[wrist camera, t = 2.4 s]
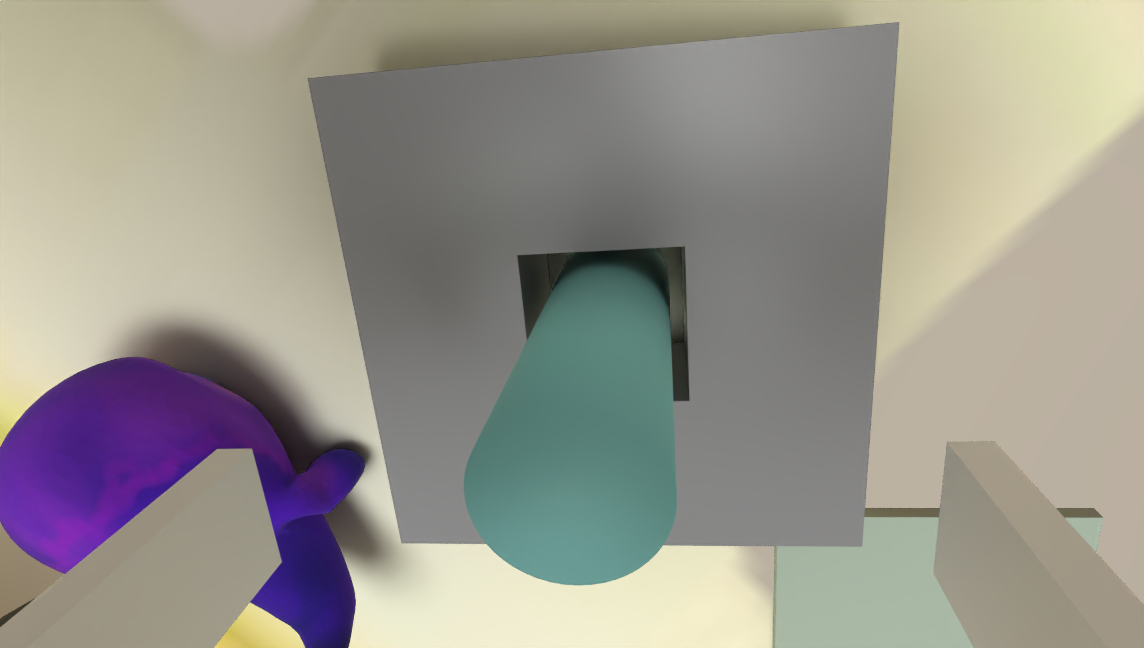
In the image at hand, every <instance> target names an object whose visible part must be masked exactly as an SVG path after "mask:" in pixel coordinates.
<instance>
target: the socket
mask: <svg viewBox="0 0 1144 648" xmlns="http://www.w3.org/2000/svg"><path fill="white" fill-rule="evenodd" d="M898 32H899V22H897V23H886V24H876V25H865V26H855V27H844V28H834V29H823V30H813V31H802V32H791V33H781V34H770V35H760V36H749V37H739V38H728V39H718V40H707V41H697V42H686V43H675V44H665V45H654V46H644V47H633V48H623V49H612V50H602V51H591V52H581V53H570V54H559V55H549V56H538V57H528V58H517V59H507V60H496V61H486V62H475V63H465V64H454V65H443V66H433V67H422V68H412V69H401V70H391V71H380V72H370V73H359V74H348V75H338V76H327V77H317V78H308V82H309V87H310V92H311V97H312V102H313V107H314V112H315V117H316V122H317V127H318V132H319V137H320V142H321V147H322V151H323V156H324V161H325V166H326V171H327V176H328V181H329V186H330V191H331V196H332V201H333V206H334V211H335V216H336V221H337V226H338V231H339V236H340V241H341V246H342V251H343V256H344V261H345V266H346V270H347V275H348V280H349V285H350V290H351V295H352V300H353V305H354V310H355V315H356V320H357V325H358V330H359V335H360V340H361V345H362V350H363V355H364V360H365V365H366V370H367V375H368V380H369V384H370V389H371V394H372V399H373V404H374V409H375V414H376V419H377V424H378V429H379V434H380V439H381V444H382V449H383V454H384V459H385V464H386V469H387V474H388V479H389V484H390V489H391V494H392V498H393V503H394V508H395V513H396V518H397V523H398V528H399V533H400V538H401V543H442V544H486V543H485V542H484V540H483V539H482V537H481V536H480V535H479V533H478V532H477V530H476V528H475V526H474V524H473V523H472V521H471V518H470V515H469V513H468V510H467V506H466V502H465V496H464V474H465V470H466V465H467V462H468V459H469V457H470V454H471V452H472V450H473V448H474V446H475V444H476V442H477V440H478V438H479V436H480V434H481V432H482V430H483V428H484V426H485V424H486V422H487V420H488V418H489V416H490V414H491V412H492V410H493V408H494V406H495V404H496V402H497V400H498V398H499V396H500V394H501V392H502V390H503V388H504V386H505V384H506V382H507V380H508V378H509V376H510V374H511V372H512V370H513V368H514V366H515V364H516V362H517V360H518V358H519V356H520V354H521V352H522V350H523V348H524V346H525V344H526V342H527V340H528V338H529V336H530V334H531V332H532V330H533V328H534V326H535V324H536V322H537V320H538V318H539V316H540V314H541V312H542V310H543V308H544V306H545V304H546V302H547V300H548V298H549V296H550V294H551V292H550V282H549V272H548V261H547V254H551V253H570V252H589V251H607V250H626V249H645V248H664V247H681V248H682V280H683V312H684V343H671V351H672V378H673V405H674V432H675V459H676V486H677V509H676V515H675V520H674V524H673V526H672V529H671V532H670V534H669V536H668V538H667V539H666V541H665V543H664V545H693V546H819V547H862V543H863V529H864V515H865V500H866V486H867V472H868V458H869V444H870V429H871V415H872V401H873V387H874V373H875V358H876V344H877V330H878V316H879V302H880V287H881V273H882V259H883V245H884V231H885V216H886V202H887V188H888V174H889V160H890V145H891V131H892V117H893V103H894V88H895V74H896V60H897V46H898Z"/></svg>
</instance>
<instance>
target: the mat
mask: <svg viewBox="0 0 1144 648" xmlns="http://www.w3.org/2000/svg"><path fill="white" fill-rule="evenodd" d="M1056 509H1057V510H1058V511H1059V512H1060V513H1061V514H1062V516H1063V517H1064V518H1065V519H1066V520H1067V521H1068V522H1069V523H1070V524H1071V525H1072V527H1073V528H1074V529H1075V530H1076V531H1077V532H1078V533H1079V534H1080V535H1081V536H1082V537H1083V539H1084V540H1085V541H1086V542H1087V543H1088V544H1089V545H1090V546H1091V547H1092V548H1093V549H1094V551H1095V552H1096V551H1097V546H1098V541H1099V536H1100V532H1101V527H1102V522H1103V517H1102V516H1101V515H1100V514H1099V513H1098V512H1097V511H1096V510H1095V509H1094V508H1056ZM939 513H940V508H865V515H864V529H863V543H862V547H819V546H775V559H774V561H775V562H774V612H773V648H974V647H973V645H972V643H971V642H970V640H969V638H968V636H967V634H966V632H965V631H964V629H963V627H962V625H961V623H960V621H959V620H958V618H957V616H956V614H955V612H954V610H953V609H952V607H951V605H950V603H949V601H948V599H947V598H946V596H945V594H944V592H943V590H942V588H941V586H940V585H939V583H938V581H937V579H936V577H935V575H934V574H933V569H934V560H935V550H936V541H937V531H938V522H939Z"/></svg>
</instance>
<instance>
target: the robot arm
mask: <svg viewBox="0 0 1144 648" xmlns="http://www.w3.org/2000/svg"><path fill="white" fill-rule="evenodd" d="M281 562H282V561H281V557H280V553H279V549H278V545H277V542H276V538H275V534H274V530H273V527H272V523H271V519H270V515H269V511H268V508H267V504H266V500H265V496H264V492H263V489H262V485H261V481H260V477H259V474H258V470H257V466H256V462H255V458H254V455H253V451H252V449H217V450H215V451H214V452H213V453H212V454H211V455H209V456H208V457H207V458H206V459H204V460H203V461H202V462H201V463H200V464H198V465H197V466H196V467H195V468H194V469H192V470H191V471H190V472H189V473H187V474H186V475H185V476H184V477H183V478H181V479H180V480H179V481H178V482H176V483H175V484H174V485H173V486H172V487H170V488H169V489H168V490H167V491H166V492H164V493H163V494H162V495H161V496H159V497H158V498H157V499H156V500H155V501H153V502H152V503H151V504H150V505H148V506H147V507H146V508H145V509H144V510H142V511H141V512H140V513H139V514H138V515H136V516H135V517H134V518H133V519H131V520H130V521H129V522H128V523H127V524H125V525H124V526H123V527H122V528H121V529H119V530H118V531H117V532H116V533H114V534H113V535H112V536H111V537H110V538H108V539H107V540H106V541H105V542H103V543H102V544H101V545H100V546H99V547H97V548H96V549H95V550H94V551H93V552H91V553H90V554H89V555H88V556H86V557H85V558H84V559H83V560H82V561H80V562H79V563H78V564H77V565H75V566H74V567H73V568H72V569H71V570H69V571H68V572H67V573H66V574H65V575H64V576H62V577H61V578H60V579H58V580H57V581H56V582H55V583H54V584H52V585H51V586H50V587H49V588H47V589H46V590H45V591H44V592H43V593H41V594H40V595H39V596H38V597H36V598H35V599H33V600H31V601H29V602H28V603H26V604H24V605H22V606H21V607H19V608H17V609H16V610H14V611H12V612H10V613H8V614H7V615H5V616H3V617H2V618H1V619H0V648H214V647H215V645H216V644H217V643H218V642H219V640H220V639H221V638H222V637H223V635H224V634H225V633H226V632H227V630H228V629H229V628H230V627H231V625H232V624H233V623H234V621H235V620H236V619H237V618H238V616H239V615H240V614H241V613H242V611H243V610H244V609H245V608H246V606H247V605H248V604H249V603H250V601H251V600H252V599H253V598H254V596H255V595H256V594H257V593H258V591H259V590H260V589H261V588H262V586H263V585H264V584H265V583H266V581H267V580H268V579H269V578H270V576H271V575H272V574H273V573H274V571H275V570H276V569H277V568H278V566H279V565H280V564H281ZM933 574H934V575H935V577H936V579H937V581H938V583H939V585H940V586H941V588H942V590H943V592H944V594H945V596H946V598H947V599H948V601H949V603H950V605H951V607H952V609H953V610H954V612H955V614H956V616H957V618H958V620H959V621H960V623H961V625H962V627H963V629H964V631H965V632H966V634H967V636H968V638H969V640H970V642H971V643H972V645H973V647H974V648H1144V604H1143V603H1142V602H1141V601H1140V600H1139V599H1138V598H1137V597H1136V596H1135V594H1134V593H1133V592H1132V591H1131V590H1130V589H1129V588H1128V587H1127V586H1126V585H1125V583H1123V581H1122V580H1121V579H1120V578H1119V577H1118V576H1117V575H1116V574H1115V573H1114V571H1113V570H1112V569H1111V568H1110V567H1109V566H1108V565H1107V564H1106V563H1105V562H1104V560H1103V559H1102V558H1101V557H1100V556H1099V555H1098V554H1097V553H1096V552H1095V551H1094V549H1093V548H1092V547H1091V546H1090V545H1089V544H1088V543H1087V542H1086V541H1085V540H1084V539H1083V537H1082V536H1081V535H1080V534H1079V533H1078V532H1077V531H1076V530H1075V529H1074V528H1073V527H1072V525H1071V524H1070V523H1069V522H1068V521H1067V520H1066V519H1065V518H1064V517H1063V516H1062V514H1061V513H1060V512H1059V511H1058V510H1057V509H1056V508H1055V507H1054V506H1053V505H1052V504H1051V503H1050V502H1049V500H1048V499H1047V498H1046V497H1045V496H1044V495H1043V494H1042V493H1041V492H1040V490H1039V489H1038V488H1037V487H1036V486H1035V485H1034V484H1033V483H1032V482H1031V481H1030V480H1029V478H1028V477H1027V476H1026V475H1025V474H1024V473H1023V472H1022V471H1021V470H1020V469H1019V468H1018V466H1017V465H1016V464H1015V463H1014V462H1013V461H1012V460H1011V459H1010V458H1009V456H1008V455H1007V454H1006V453H1005V452H1004V451H1003V450H1002V449H1001V448H1000V447H999V446H998V444H996V442H994V441H990V442H989V441H988V442H987V441H980V442H947V447H946V456H945V466H944V475H943V485H942V495H941V503H940V513H939V522H938V531H937V541H936V550H935V560H934V569H933Z"/></svg>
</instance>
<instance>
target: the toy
mask: <svg viewBox="0 0 1144 648" xmlns="http://www.w3.org/2000/svg"><path fill="white" fill-rule="evenodd" d="M217 449H252V451H253V455H254V458H255V462H256V466H257V470H258V474H259V477H260V481H261V485H262V489H263V492H264V496H265V500H266V504H267V508H268V511H269V515H270V519H271V523H272V527H273V530H274V534H275V538H276V542H277V545H278V549H279V553H280V557H281V561H282V562H281V564H280V565H279V566H278V568H277V569H276V570H275V571H274V573H273V574H272V575H271V576H270V578H269V579H268V580H267V581H266V583H265V584H264V585H263V586H262V588H261V589H260V590H259V591H258V593H257V594H256V595H255V596H254V598H253V599H252V600H251V601H250V602H251V603H252V604H254V605H256V606H258V607H260V608H262V609H263V610H265V611H267V612H268V613H270V614H272V615H273V616H275V617H276V618H278V619H279V620H281V621H283V622H285V623H286V624H288V625H290V626H291V627H292V628H293V629H294V630H295V631H296V632H297V633H298V634H299V635H300V637H301V639H302V641H303V643H304V645H305V648H348V647H349V643H350V638H351V633H352V626H353V620H354V614H355V605H356V599H355V592H354V587H353V583H352V580H351V577H350V574H349V571H348V568H347V565H346V562H345V560H344V557H343V555H342V552H341V550H340V548H339V545H338V543H337V541H336V539H335V537H334V535H333V533H332V531H331V529H330V527H329V525H328V523H327V521H326V519H325V517H324V516H323V514H325V513H330V512H331V511H332V510H333V509H334V507H335V506H336V505H337V504H338V503H340V502H341V501H342V500H343V499H344V498H345V497H346V496H347V495H348V493H349V492H350V491H351V490H352V489H353V487H354V486H355V484H356V483H357V481H358V480H359V478H360V477H361V475H362V473H363V471H364V468H365V462H364V460H363V458H362V457H361V456H360V455H359V454H357V453H356V452H353V451H351V450H346V449H336V450H331V451H328V452H326V453H324V454H322V455H321V456H319V457H318V458H317V459H316V460H315V461H313V462H312V463H311V464H310V465H309V467H308V468H307V470H306V472H305V473H300V474H298V475H296V473H295V471H294V469H293V467H292V464H291V462H290V460H289V458H288V456H287V453H286V451H285V449H284V447H283V444H282V443H281V441H280V439H279V438H278V436H277V434H276V433H275V431H274V429H273V428H272V426H271V425H270V423H269V422H268V420H267V419H266V418H265V417H264V416H263V414H262V413H261V412H260V411H259V410H258V409H257V408H256V407H254V406H253V405H252V404H251V403H249V402H248V401H247V400H245V399H244V398H242V397H241V396H239V395H237V394H235V393H233V392H231V391H229V390H227V389H225V388H223V387H221V386H220V385H218V384H216V383H214V382H212V381H210V380H208V379H207V378H205V377H202V376H199V375H196V374H193V373H187V372H181V371H179V370H177V369H174V368H172V367H170V366H168V365H166V364H164V363H161V362H158V361H155V360H152V359H147V358H141V357H126V358H120V359H114V360H111V361H107V362H104V363H100V364H97V365H95V366H92V367H90V368H87V369H85V370H82V371H80V372H78V373H76V374H74V375H73V376H71V377H69V378H67V379H65V380H64V381H62V382H61V383H59V384H58V385H56V386H55V387H53V388H52V389H50V390H49V391H48V392H46V393H45V394H44V395H43V396H41V397H40V398H39V399H38V400H37V401H36V402H35V403H34V404H32V405H31V406H30V407H29V408H28V409H27V410H26V411H25V413H24V414H23V415H22V416H21V417H20V419H19V420H18V421H17V422H16V424H15V425H14V426H13V428H12V429H11V430H10V432H9V433H8V434H7V436H6V438H5V440H4V441H3V443H2V445H1V447H0V522H1V524H2V526H3V528H4V529H5V531H6V532H7V534H8V535H9V536H10V538H11V539H12V540H13V541H14V542H15V543H16V544H17V545H18V546H19V547H20V548H21V549H22V550H23V551H25V552H26V553H27V554H28V555H30V556H31V557H33V558H34V559H36V560H38V561H39V562H41V563H43V564H44V565H47V566H48V567H50V568H53V569H55V570H57V571H59V572H61V573H64V574H66V573H67V572H68V571H69V570H71V569H72V568H73V567H74V566H75V565H77V564H78V563H79V562H80V561H82V560H83V559H84V558H85V557H86V556H88V555H89V554H90V553H91V552H93V551H94V550H95V549H96V548H97V547H99V546H100V545H101V544H102V543H103V542H105V541H106V540H107V539H108V538H110V537H111V536H112V535H113V534H114V533H116V532H117V531H118V530H119V529H121V528H122V527H123V526H124V525H125V524H127V523H128V522H129V521H130V520H131V519H133V518H134V517H135V516H136V515H138V514H139V513H140V512H141V511H142V510H144V509H145V508H146V507H147V506H148V505H150V504H151V503H152V502H153V501H155V500H156V499H157V498H158V497H159V496H161V495H162V494H163V493H164V492H166V491H167V490H168V489H169V488H170V487H172V486H173V485H174V484H175V483H176V482H178V481H179V480H180V479H181V478H183V477H184V476H185V475H186V474H187V473H189V472H190V471H191V470H192V469H194V468H195V467H196V466H197V465H198V464H200V463H201V462H202V461H203V460H204V459H206V458H207V457H208V456H209V455H211V454H212V453H213V452H214V451H215V450H217Z"/></svg>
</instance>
